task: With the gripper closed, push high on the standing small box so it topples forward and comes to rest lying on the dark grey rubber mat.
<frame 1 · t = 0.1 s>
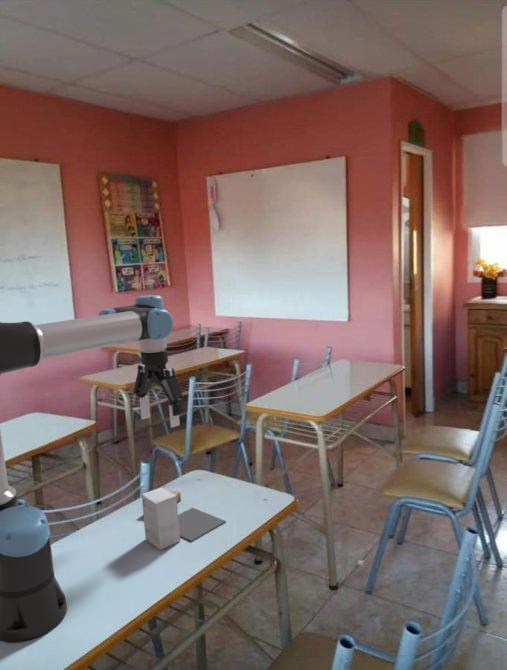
hand: (160, 422, 159), 28 cm above the table, fingers open, 13 cm apart
small box: (163, 541, 148), on the table
mat: (192, 524, 156), on the table
board eraser: (162, 509, 167), on the table
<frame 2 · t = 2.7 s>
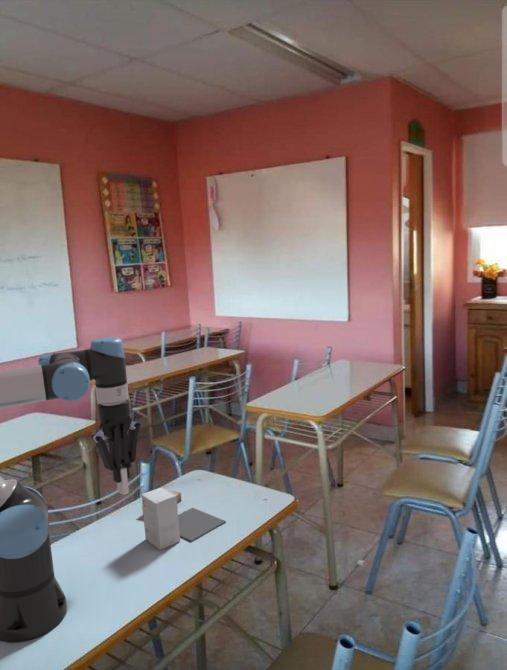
hand: (123, 492, 138), 18 cm above the table, fingers closed
nothing on the table moved.
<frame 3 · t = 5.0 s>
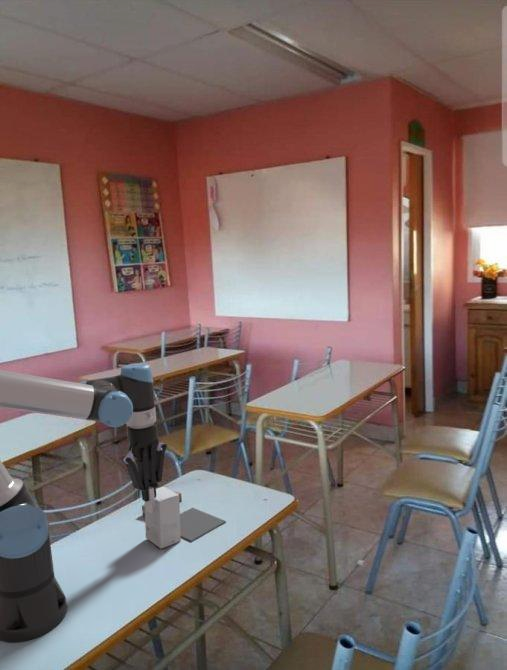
hand: (150, 510, 144), 10 cm above the table, fingers closed
small box: (163, 540, 148), on the table, touching gripper
everything else where it was.
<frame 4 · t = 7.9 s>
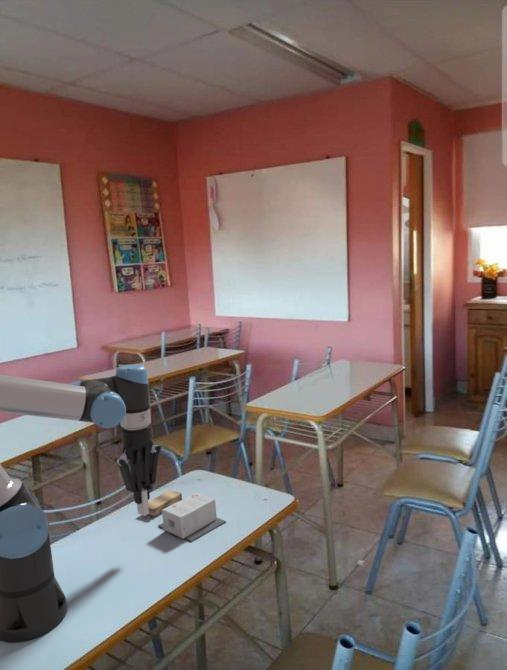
hand: (143, 513, 143), 10 cm above the table, fingers closed
small box: (171, 524, 149), point 3 cm above the table, touching mat
everything else where it was.
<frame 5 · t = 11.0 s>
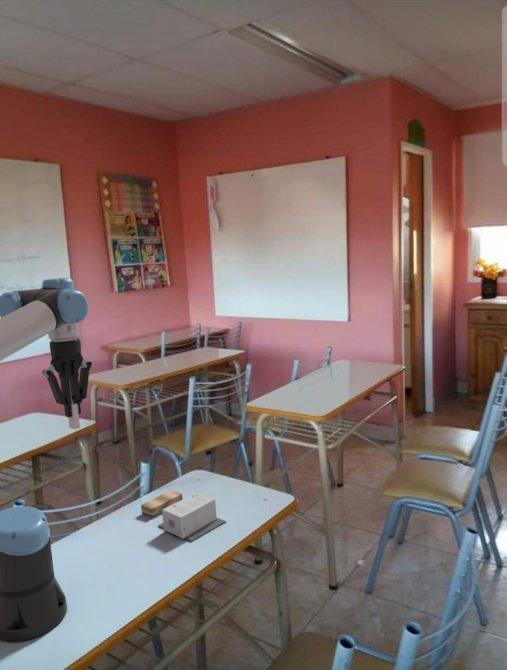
hand: (74, 427, 144), 32 cm above the table, fingers closed
nothing on the table moved.
at the end: small box tilted 89°; small box inside the target area (8.2 cm from its centre), point 3.4 cm above the table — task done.
